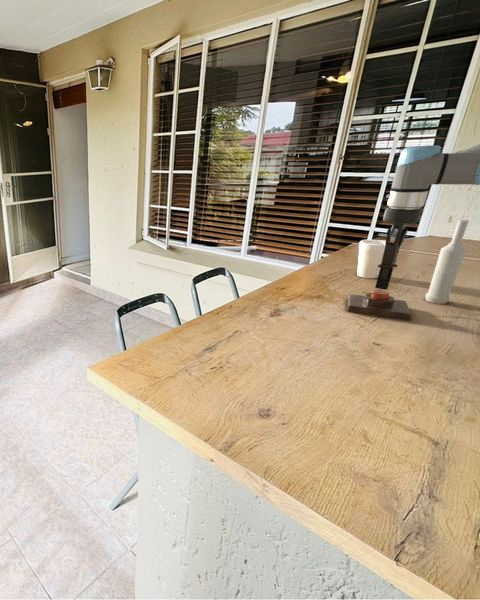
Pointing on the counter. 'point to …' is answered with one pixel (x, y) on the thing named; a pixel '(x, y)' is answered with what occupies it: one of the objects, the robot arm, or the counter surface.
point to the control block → (378, 306)
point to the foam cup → (370, 258)
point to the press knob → (380, 294)
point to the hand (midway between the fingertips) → (381, 288)
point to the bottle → (447, 267)
